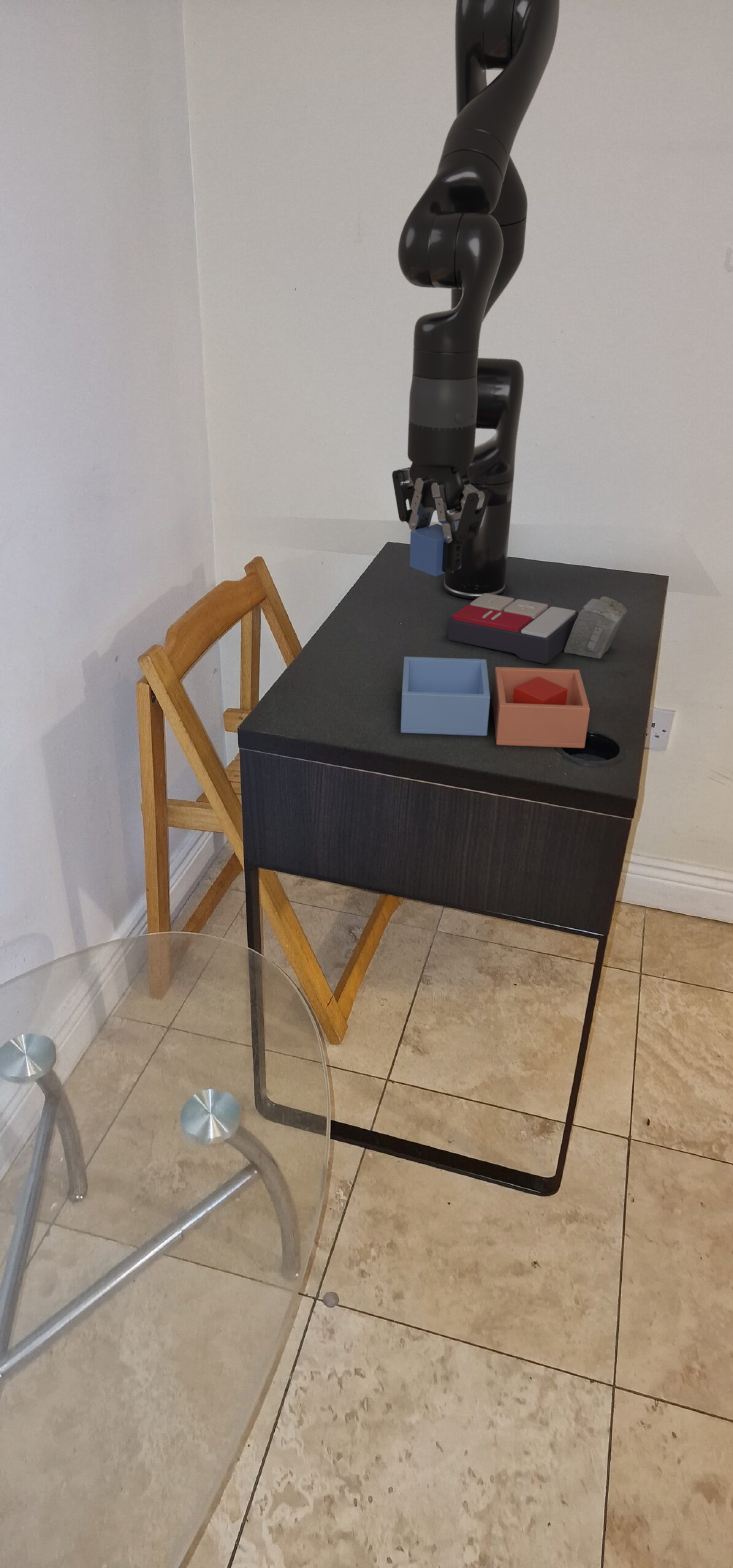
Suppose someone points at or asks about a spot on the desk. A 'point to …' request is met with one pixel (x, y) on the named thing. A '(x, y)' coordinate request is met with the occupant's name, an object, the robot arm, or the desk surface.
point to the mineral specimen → (595, 627)
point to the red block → (540, 693)
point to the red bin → (540, 710)
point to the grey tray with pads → (513, 627)
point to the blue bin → (445, 696)
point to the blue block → (427, 549)
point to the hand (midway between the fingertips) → (435, 564)
